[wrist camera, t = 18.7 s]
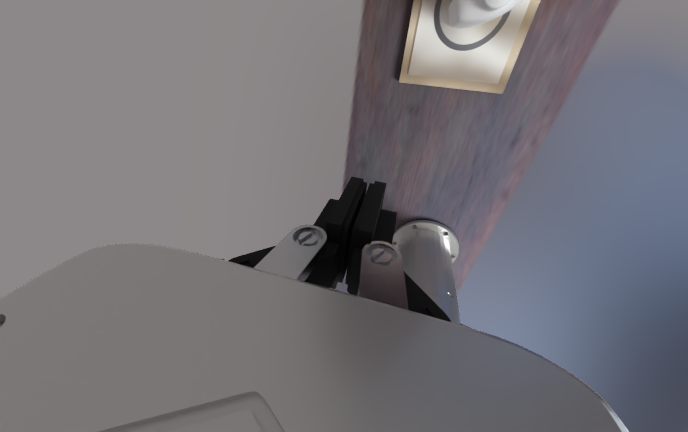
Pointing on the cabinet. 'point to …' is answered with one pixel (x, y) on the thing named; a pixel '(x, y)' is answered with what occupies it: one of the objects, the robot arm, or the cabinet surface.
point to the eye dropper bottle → (477, 11)
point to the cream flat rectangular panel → (463, 47)
